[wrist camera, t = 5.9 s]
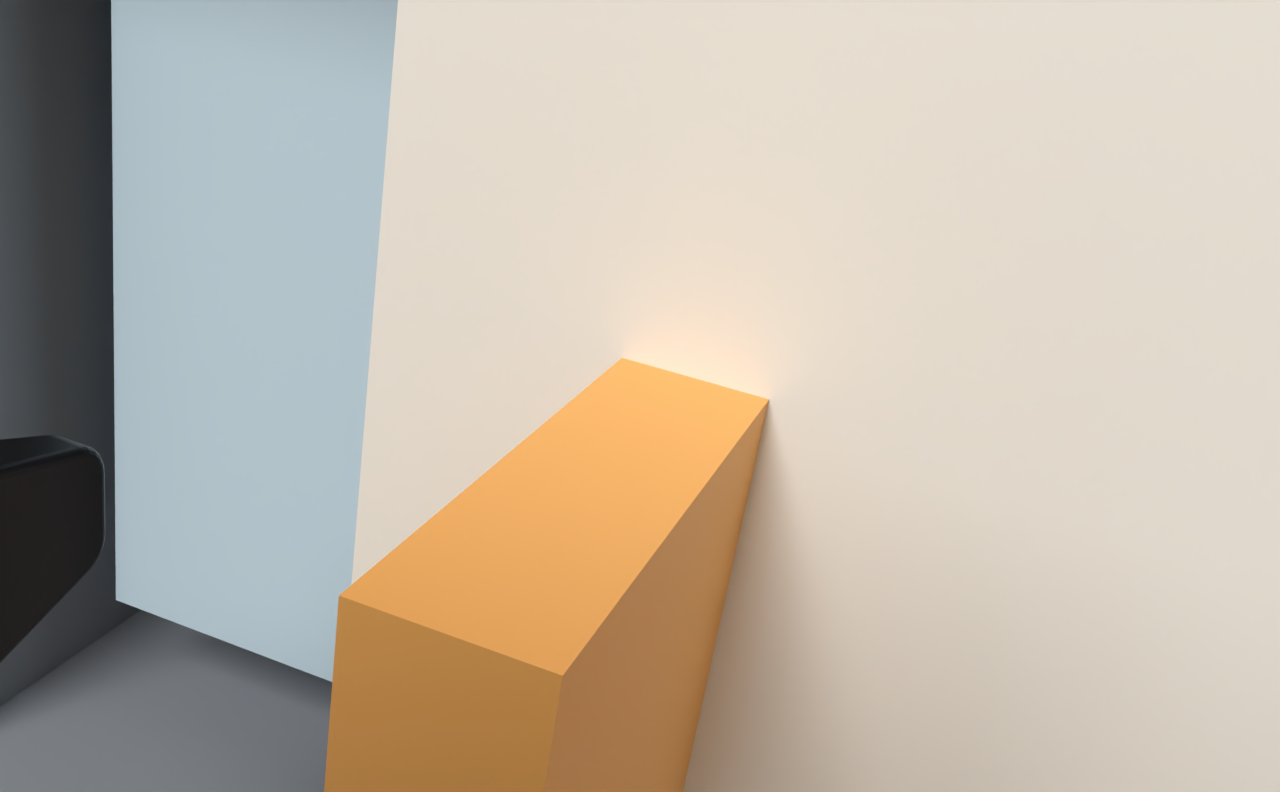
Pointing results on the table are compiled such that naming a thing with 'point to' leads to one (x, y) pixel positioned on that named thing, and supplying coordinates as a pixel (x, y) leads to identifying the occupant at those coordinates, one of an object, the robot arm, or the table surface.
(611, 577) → the flap
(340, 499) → the carton
